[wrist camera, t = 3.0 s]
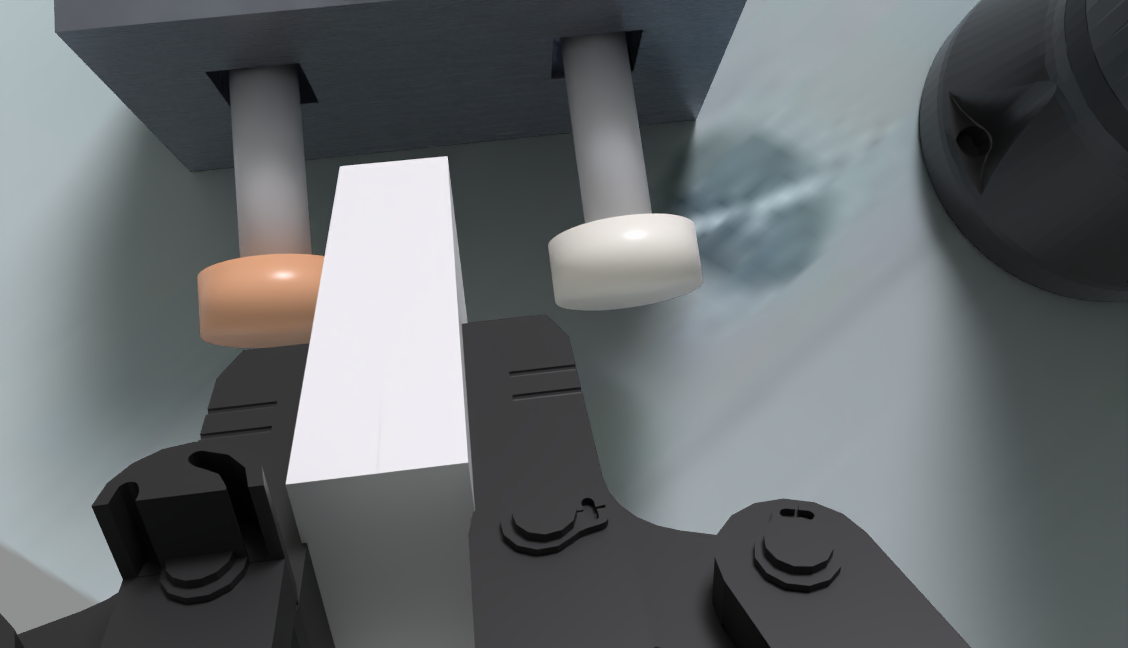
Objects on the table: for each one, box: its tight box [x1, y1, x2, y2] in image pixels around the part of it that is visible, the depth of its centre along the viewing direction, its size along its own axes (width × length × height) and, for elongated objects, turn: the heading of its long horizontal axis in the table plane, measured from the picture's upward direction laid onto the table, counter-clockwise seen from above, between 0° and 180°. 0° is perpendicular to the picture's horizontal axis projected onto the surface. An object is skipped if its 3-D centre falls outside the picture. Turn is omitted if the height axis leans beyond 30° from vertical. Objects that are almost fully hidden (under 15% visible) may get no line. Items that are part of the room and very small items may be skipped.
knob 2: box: [548, 31, 703, 311], centre depth 34 cm, size 10×5×5 cm, turn 7°
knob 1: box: [197, 63, 325, 348], centre depth 34 cm, size 10×5×5 cm, turn 7°
